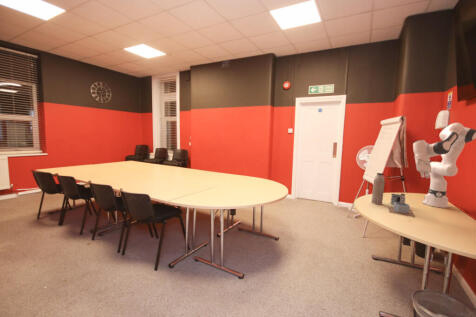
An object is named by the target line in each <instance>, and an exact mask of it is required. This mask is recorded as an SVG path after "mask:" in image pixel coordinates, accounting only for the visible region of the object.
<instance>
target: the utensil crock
mask: <svg viewBox="0 0 476 317" xmlns="http://www.w3.org/2000/svg"><path fill="white" fill-rule="evenodd" d="M392 207H393V210H394V211H396V212H398V213H404V214H407V213H409V210H410V207H411V206H410V204H408V203H404V205H402V204H401V205H400V202H394V206H392Z"/></svg>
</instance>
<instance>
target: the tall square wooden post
mask: <svg viewBox="0 0 476 317" xmlns="http://www.w3.org/2000/svg"><path fill="white" fill-rule="evenodd" d="M400 195H401V197H400V205H401V204H402V205H404V199H405V200H406V194H405V193H400ZM402 197H403V199H402Z"/></svg>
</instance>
